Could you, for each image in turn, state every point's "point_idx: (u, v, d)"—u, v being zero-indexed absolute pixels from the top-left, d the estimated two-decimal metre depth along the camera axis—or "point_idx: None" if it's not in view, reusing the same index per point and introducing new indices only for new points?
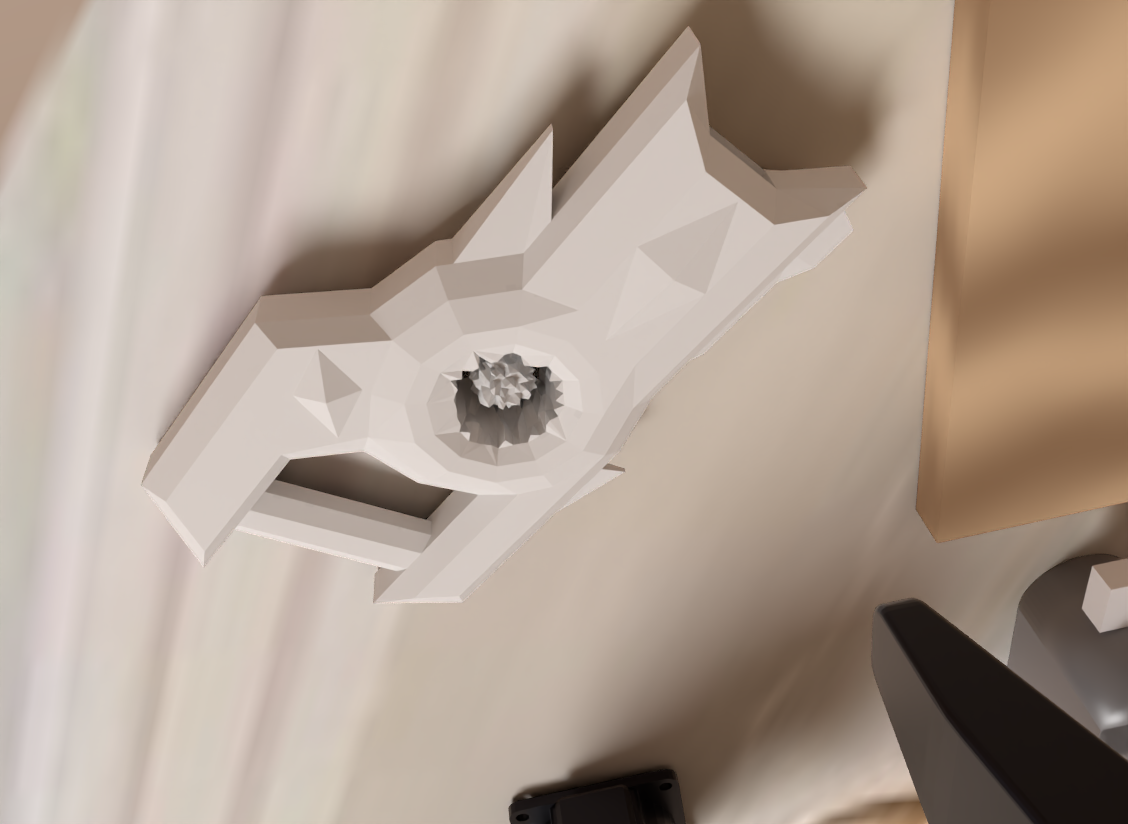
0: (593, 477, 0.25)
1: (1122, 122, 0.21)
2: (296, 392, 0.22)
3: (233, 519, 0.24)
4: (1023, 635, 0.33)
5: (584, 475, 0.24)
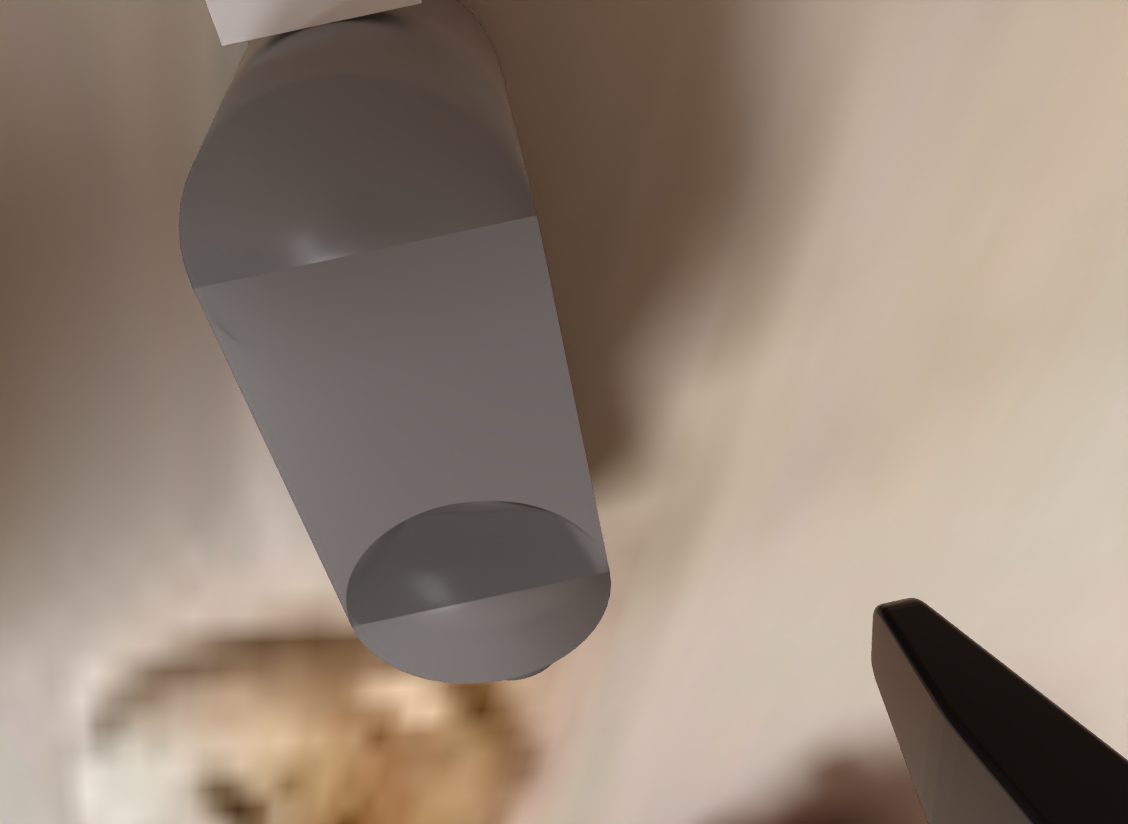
0: None
1: None
2: None
3: None
4: None
5: None
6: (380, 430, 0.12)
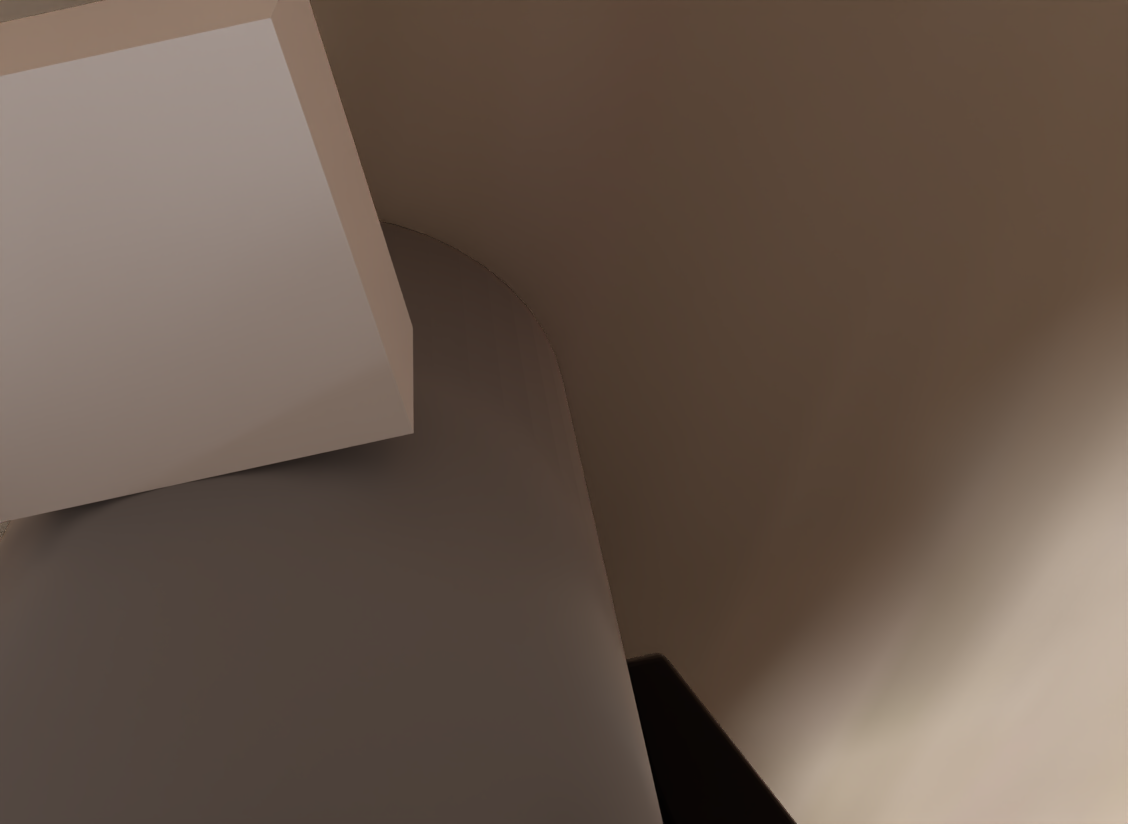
0: None
1: None
2: None
3: None
4: None
5: None
6: None
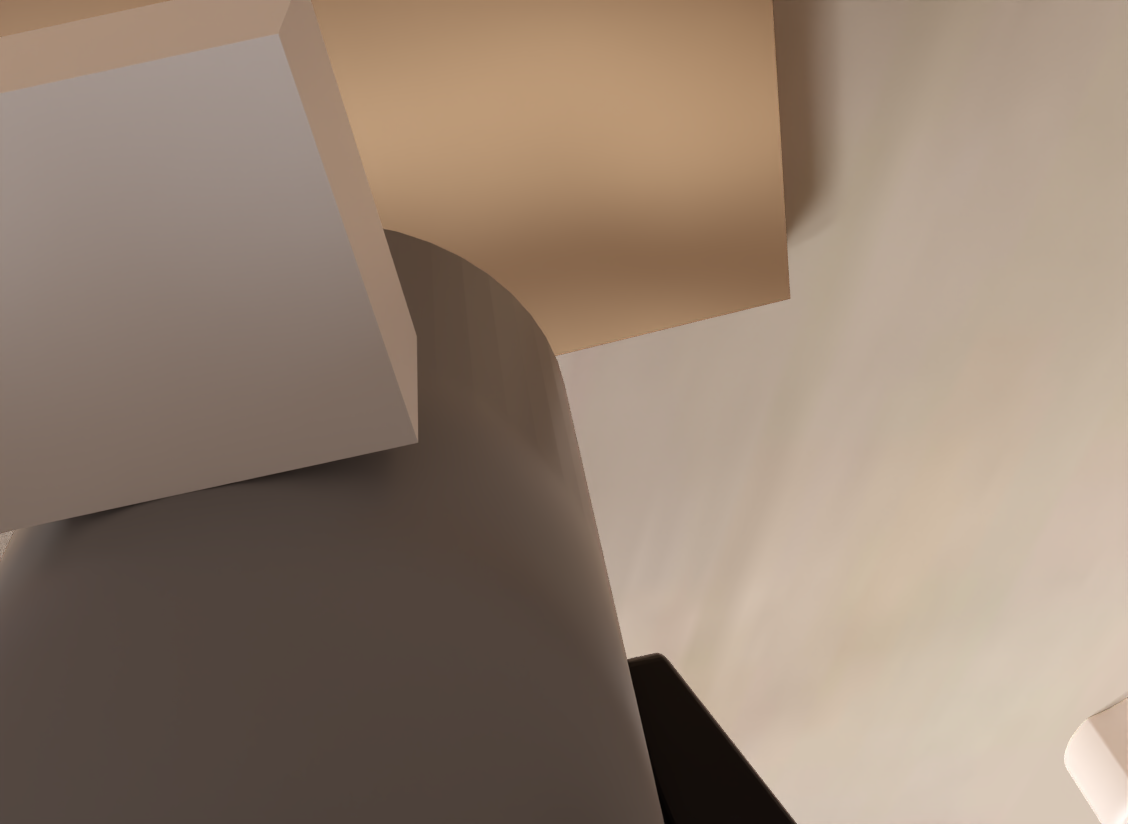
0: None
1: None
2: None
3: None
4: None
5: None
6: None
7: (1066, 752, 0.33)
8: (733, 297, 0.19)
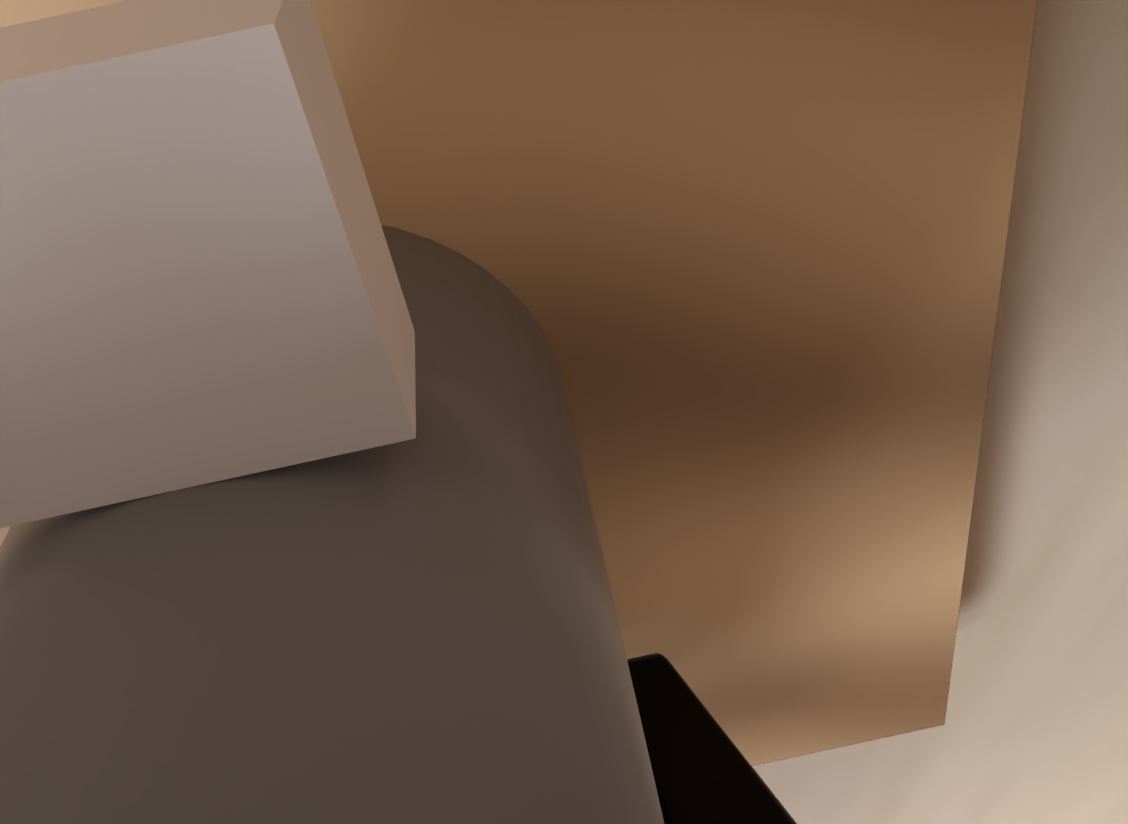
0: None
1: None
2: None
3: None
4: None
5: None
6: None
7: None
8: (879, 726, 0.16)
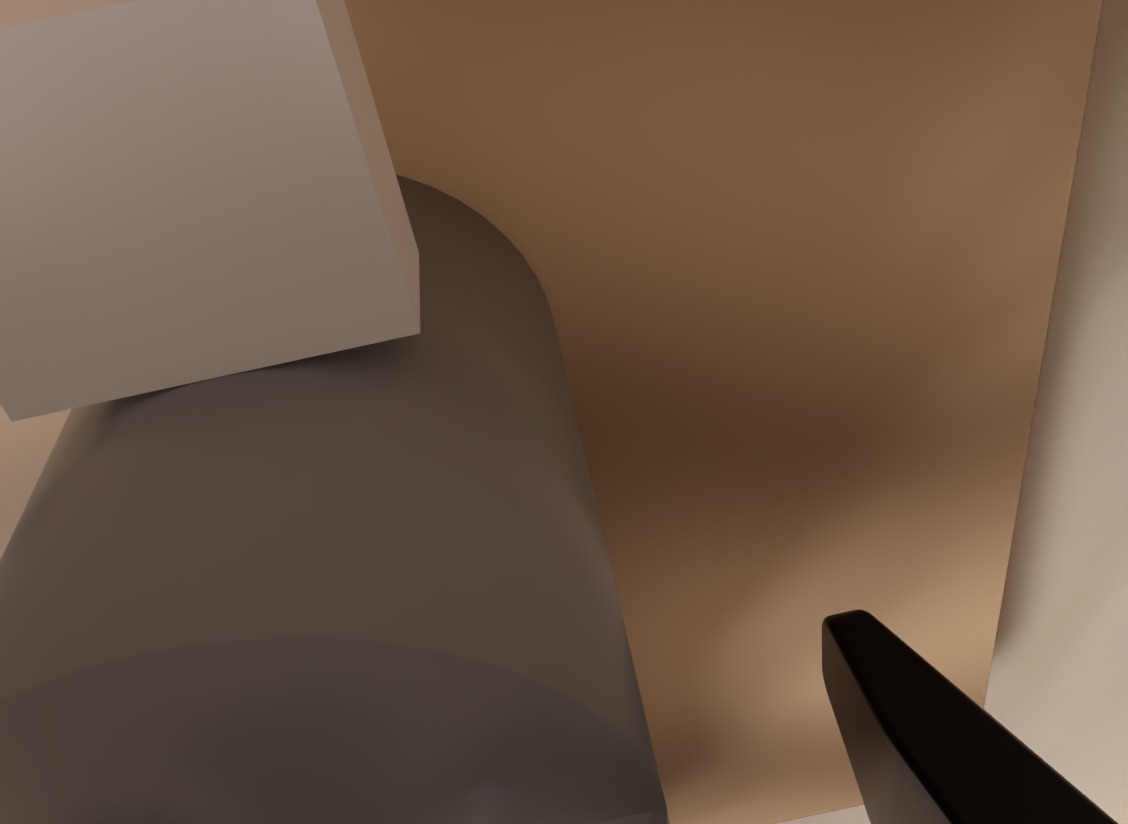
0: None
1: None
2: None
3: None
4: None
5: None
6: None
7: None
8: None
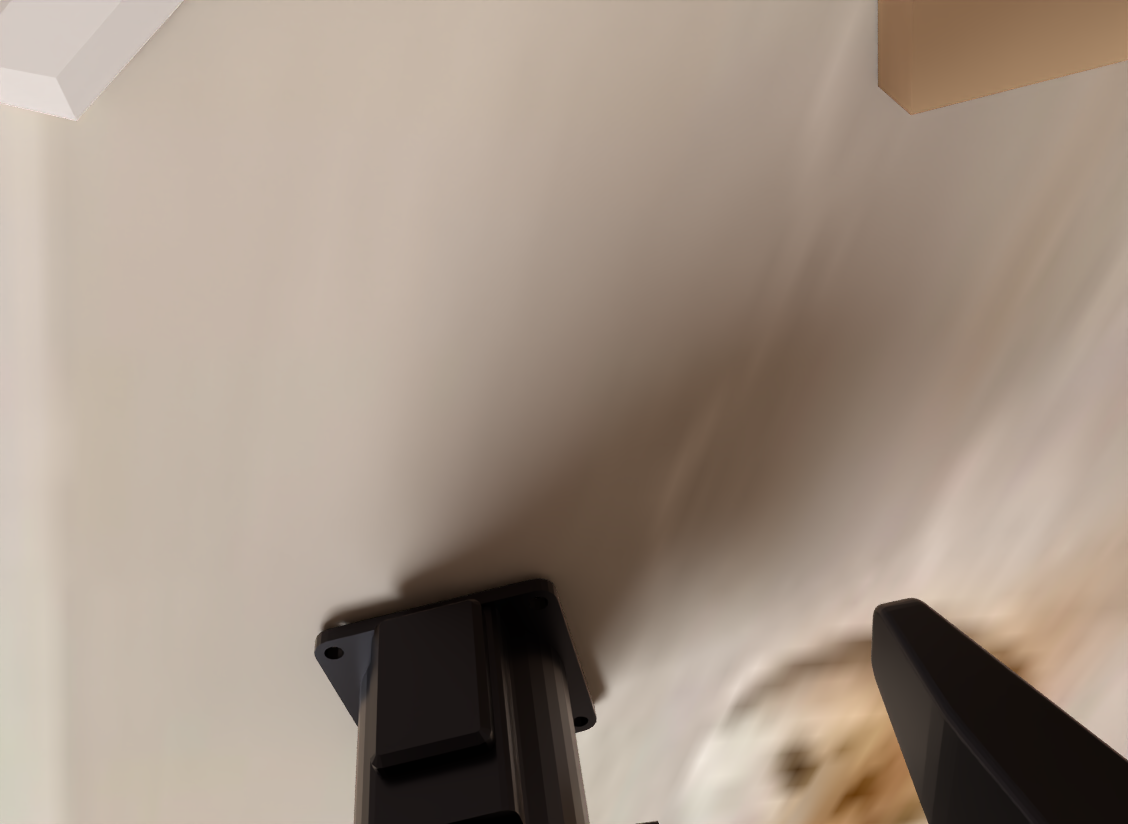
0: None
1: None
2: None
3: None
4: None
5: None
6: None
7: None
8: None
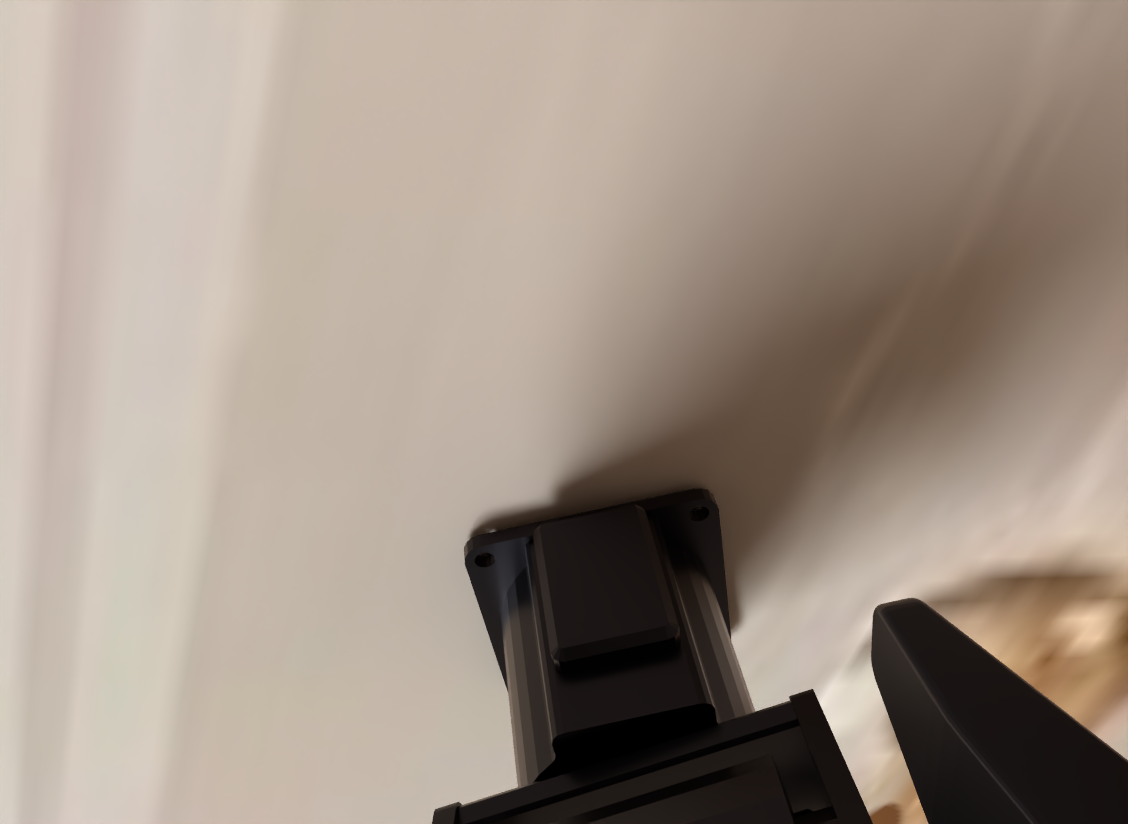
0: None
1: None
2: None
3: None
4: None
5: None
6: None
7: None
8: None
